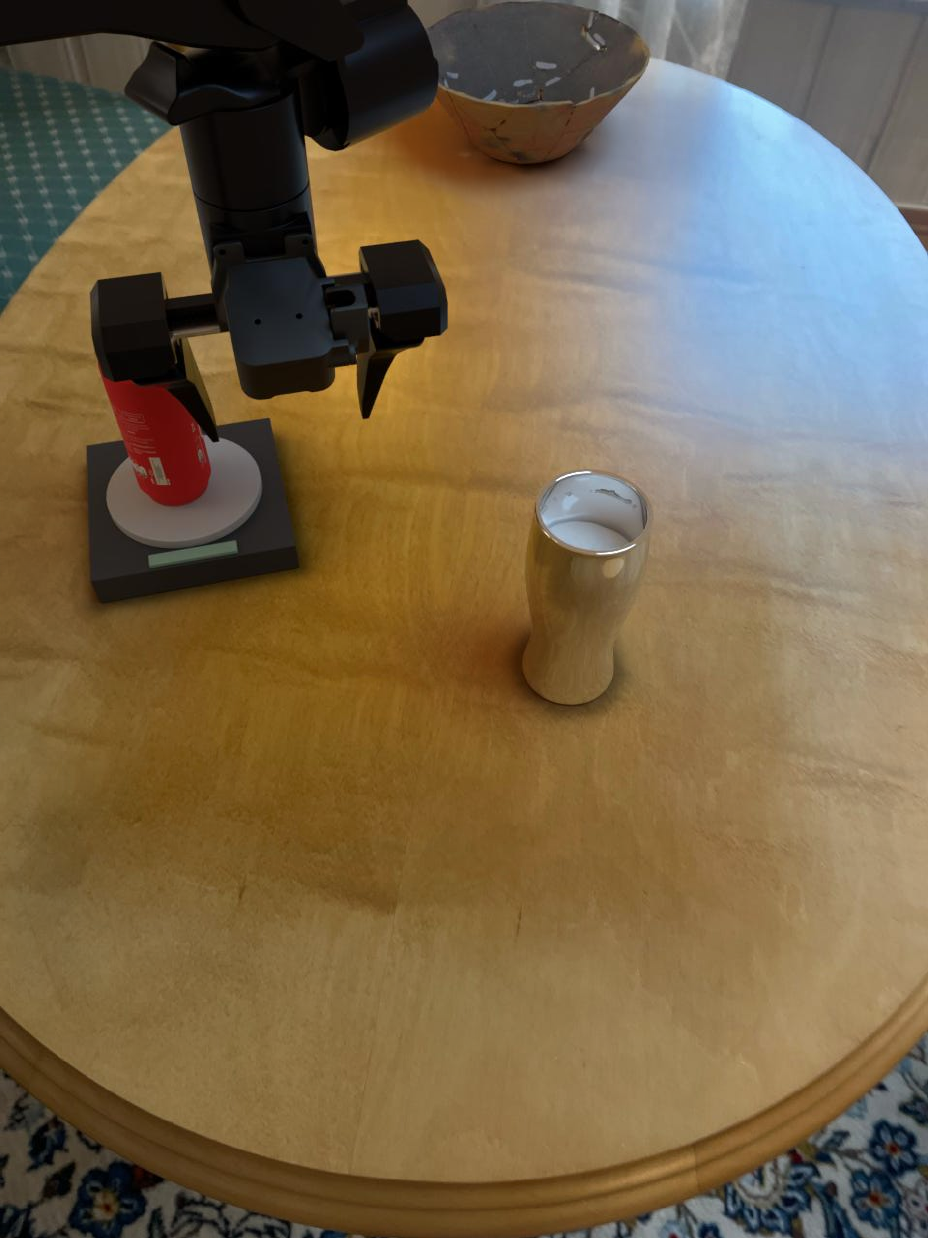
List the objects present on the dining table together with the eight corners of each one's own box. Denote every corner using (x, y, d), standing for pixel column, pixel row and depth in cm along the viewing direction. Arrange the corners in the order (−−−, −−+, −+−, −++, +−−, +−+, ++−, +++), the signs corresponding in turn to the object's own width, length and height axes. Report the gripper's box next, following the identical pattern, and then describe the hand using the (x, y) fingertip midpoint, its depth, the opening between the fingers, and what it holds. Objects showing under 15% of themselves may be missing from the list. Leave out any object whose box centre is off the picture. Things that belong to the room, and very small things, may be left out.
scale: (99, 603, 68) (86, 573, 65) (94, 468, 76) (82, 437, 73) (299, 567, 70) (294, 537, 67) (273, 440, 78) (268, 408, 76)
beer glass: (567, 730, 62) (595, 578, 50) (493, 663, 65) (504, 504, 53) (641, 672, 65) (684, 514, 53) (567, 610, 68) (592, 448, 56)
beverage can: (134, 471, 71) (86, 333, 62) (204, 453, 73) (167, 314, 63) (149, 519, 68) (102, 381, 59) (222, 498, 70) (187, 360, 60)
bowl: (526, 72, 120) (532, -19, 112) (681, 146, 109) (699, 50, 101) (368, 136, 110) (362, 40, 102) (522, 225, 99) (529, 125, 91)
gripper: (53, 300, 41) (143, 547, 54) (477, 245, 44) (470, 491, 57) (53, 171, 48) (133, 417, 60) (422, 131, 51) (427, 373, 63)
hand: (291, 426), depth 60 cm, fingers open, 9 cm apart
